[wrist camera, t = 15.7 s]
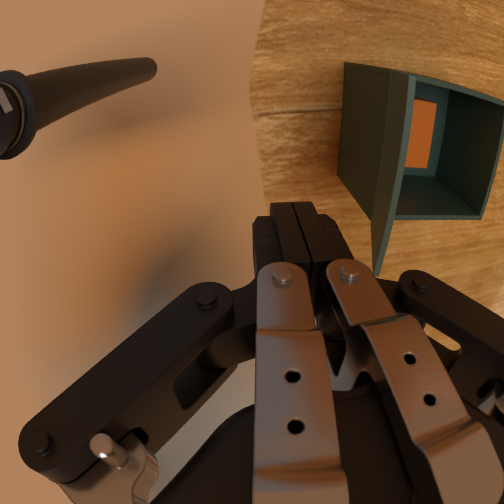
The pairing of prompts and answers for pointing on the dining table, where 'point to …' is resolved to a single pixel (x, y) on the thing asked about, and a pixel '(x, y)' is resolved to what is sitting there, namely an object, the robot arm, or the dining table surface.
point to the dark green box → (441, 151)
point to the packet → (421, 133)
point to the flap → (392, 163)
